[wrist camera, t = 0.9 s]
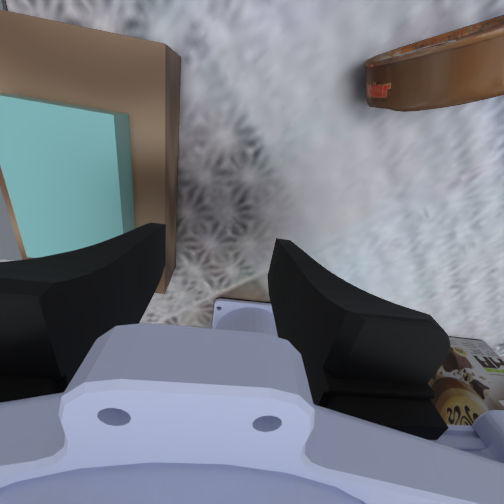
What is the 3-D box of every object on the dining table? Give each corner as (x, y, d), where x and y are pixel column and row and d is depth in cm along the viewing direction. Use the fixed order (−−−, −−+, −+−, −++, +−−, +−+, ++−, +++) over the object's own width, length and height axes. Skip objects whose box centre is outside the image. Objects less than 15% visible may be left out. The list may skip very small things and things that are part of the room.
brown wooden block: (175, 266, 24) (164, 293, 21) (60, 254, 23) (28, 280, 20) (180, 57, 17) (165, 43, 13) (9, 22, 15) (-57, -3, 12)
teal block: (136, 252, 19) (126, 267, 17) (47, 242, 18) (26, 256, 16) (128, 114, 15) (113, 115, 13) (11, 93, 14) (-21, 91, 12)
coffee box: (436, 334, 30) (608, 532, 16) (484, 339, 31) (688, 532, 17) (401, 383, 35) (512, 573, 20) (444, 387, 35) (580, 572, 21)
